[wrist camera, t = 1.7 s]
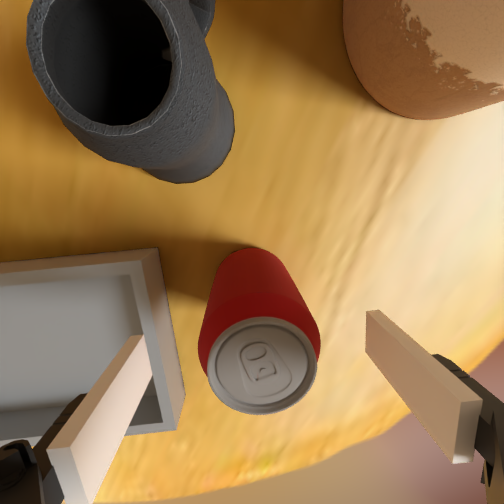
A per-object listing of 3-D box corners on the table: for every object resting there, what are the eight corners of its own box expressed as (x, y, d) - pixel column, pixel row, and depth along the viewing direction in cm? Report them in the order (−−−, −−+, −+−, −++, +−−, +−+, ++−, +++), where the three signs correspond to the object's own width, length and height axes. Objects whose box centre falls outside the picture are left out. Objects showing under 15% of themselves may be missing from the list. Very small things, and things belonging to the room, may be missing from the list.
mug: (210, 201, 22) (182, 217, 11) (104, 156, 21) (-47, 124, 10) (268, 52, 19) (304, -118, 8) (150, -10, 18) (13, -309, 7)
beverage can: (231, 322, 25) (224, 443, 13) (203, 261, 23) (166, 338, 12) (296, 298, 25) (347, 400, 13) (272, 234, 23) (307, 285, 11)
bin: (-97, 271, 22) (-169, 290, 18) (157, 247, 23) (140, 260, 19) (-29, 417, 26) (-75, 458, 22) (185, 394, 27) (176, 429, 23)
